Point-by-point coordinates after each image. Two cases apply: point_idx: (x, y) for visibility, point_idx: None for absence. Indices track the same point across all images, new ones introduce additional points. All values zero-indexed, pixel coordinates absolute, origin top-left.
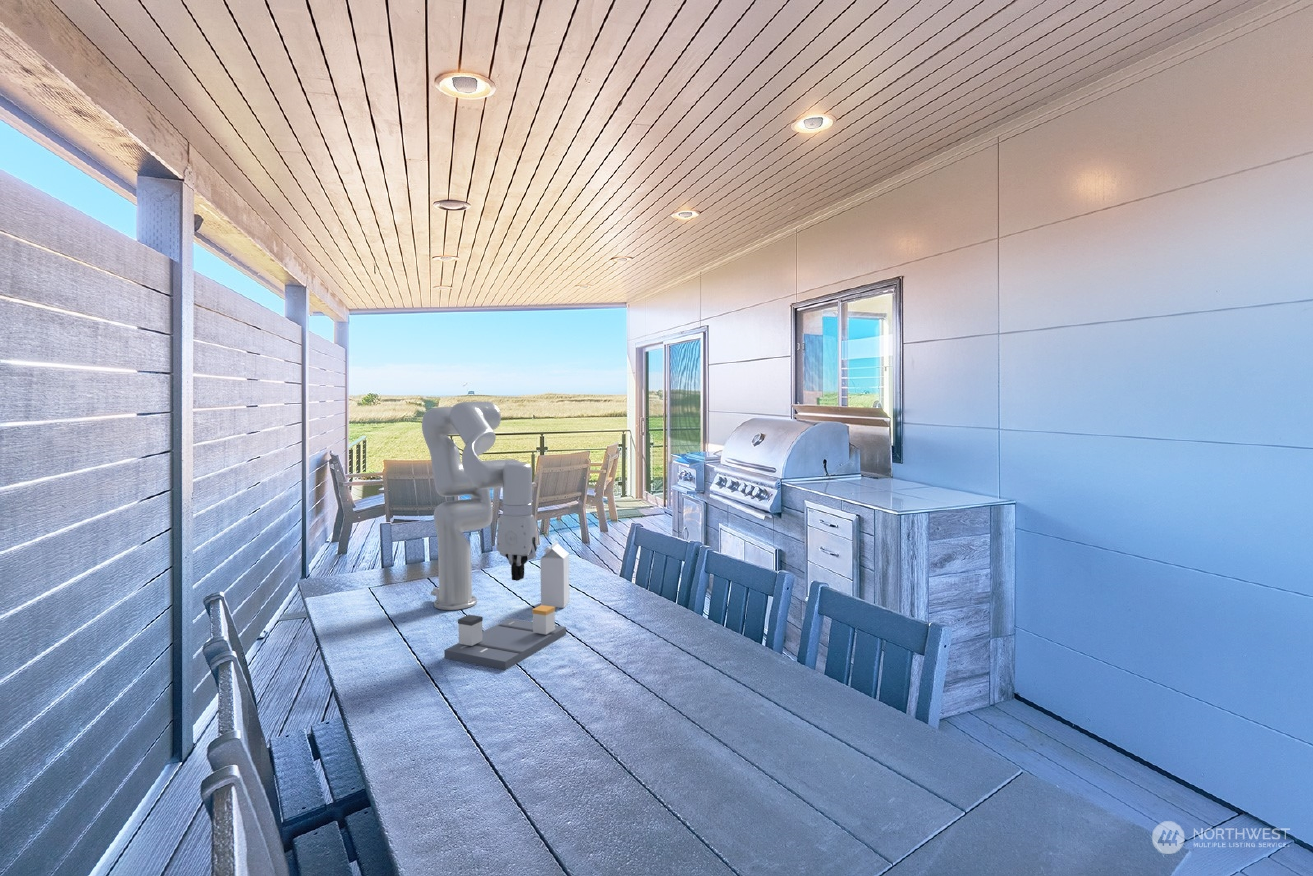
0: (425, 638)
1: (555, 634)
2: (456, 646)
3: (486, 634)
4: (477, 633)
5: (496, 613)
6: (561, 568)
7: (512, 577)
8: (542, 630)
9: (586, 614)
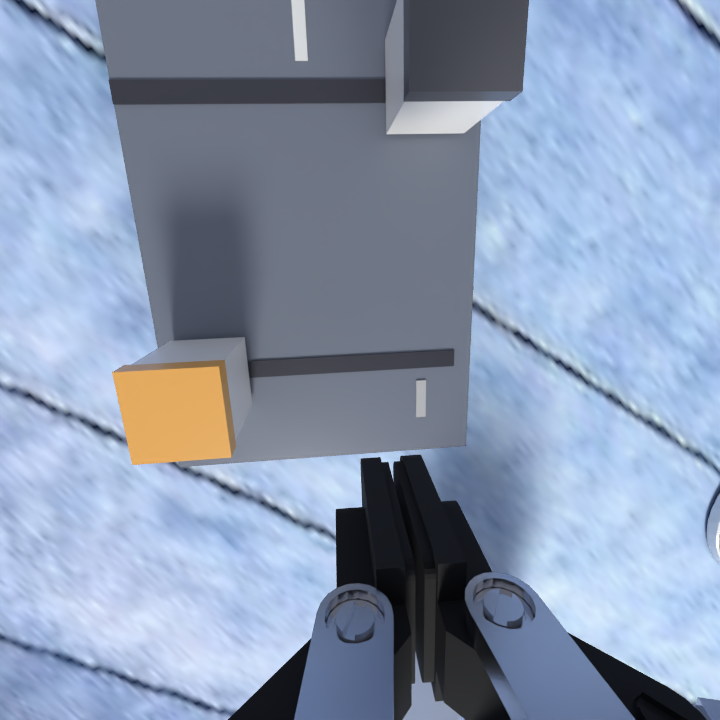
0: (694, 153)
1: None
2: None
3: (433, 233)
4: (393, 70)
5: (581, 505)
6: None
7: (416, 466)
8: (185, 343)
9: (270, 637)
